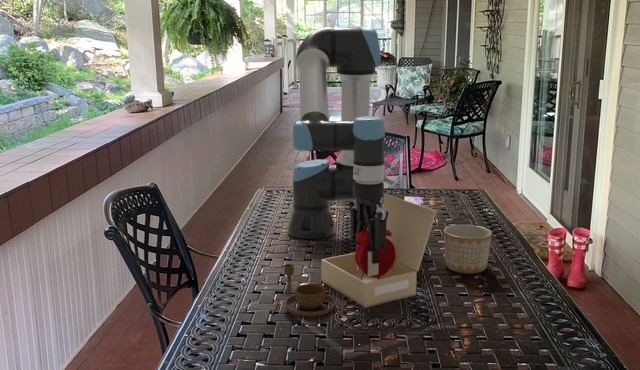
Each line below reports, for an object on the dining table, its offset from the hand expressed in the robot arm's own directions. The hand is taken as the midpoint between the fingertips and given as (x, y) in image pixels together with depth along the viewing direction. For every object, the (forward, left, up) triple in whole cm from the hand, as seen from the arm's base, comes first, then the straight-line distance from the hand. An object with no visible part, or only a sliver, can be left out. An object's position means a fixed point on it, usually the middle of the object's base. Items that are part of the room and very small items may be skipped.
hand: (367, 271), depth 161 cm
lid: (0, +8, +2) cm, 8 cm away
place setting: (-1, -16, -5) cm, 17 cm away
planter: (+2, +32, -5) cm, 32 cm away
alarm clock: (+2, +2, -2) cm, 3 cm away
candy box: (-13, +25, -5) cm, 28 cm away
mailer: (0, 0, -4) cm, 4 cm away
